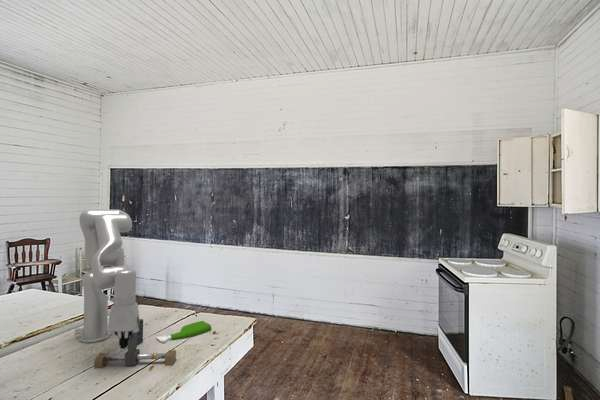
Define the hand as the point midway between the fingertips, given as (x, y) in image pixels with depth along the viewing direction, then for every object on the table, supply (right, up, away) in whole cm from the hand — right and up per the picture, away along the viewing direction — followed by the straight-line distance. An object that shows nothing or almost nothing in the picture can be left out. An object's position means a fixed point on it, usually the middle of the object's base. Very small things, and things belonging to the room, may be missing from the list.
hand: (124, 347), depth 127 cm
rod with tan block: (+5, -7, +1) cm, 8 cm away
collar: (+3, -7, 0) cm, 7 cm away
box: (-7, -7, +18) cm, 21 cm away
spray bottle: (+13, -8, +29) cm, 33 cm away
